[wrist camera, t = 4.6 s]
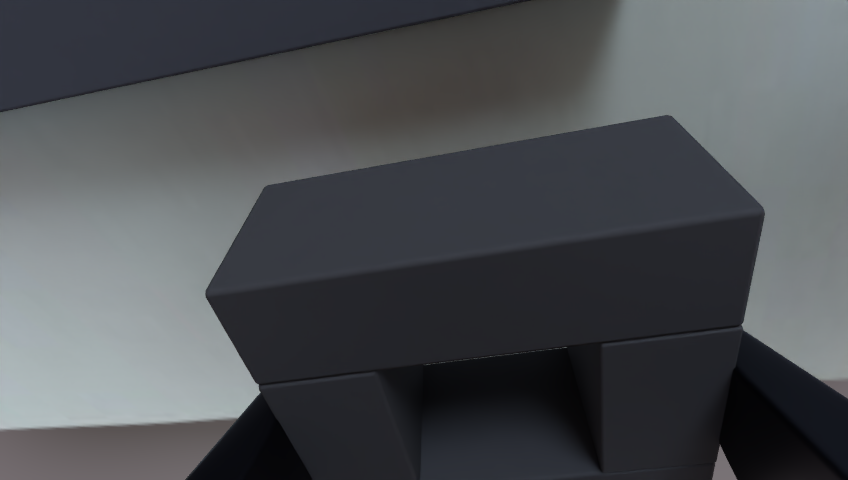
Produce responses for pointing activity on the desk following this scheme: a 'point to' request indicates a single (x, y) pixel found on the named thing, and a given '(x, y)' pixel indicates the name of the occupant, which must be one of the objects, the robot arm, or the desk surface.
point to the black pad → (500, 309)
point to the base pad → (177, 37)
